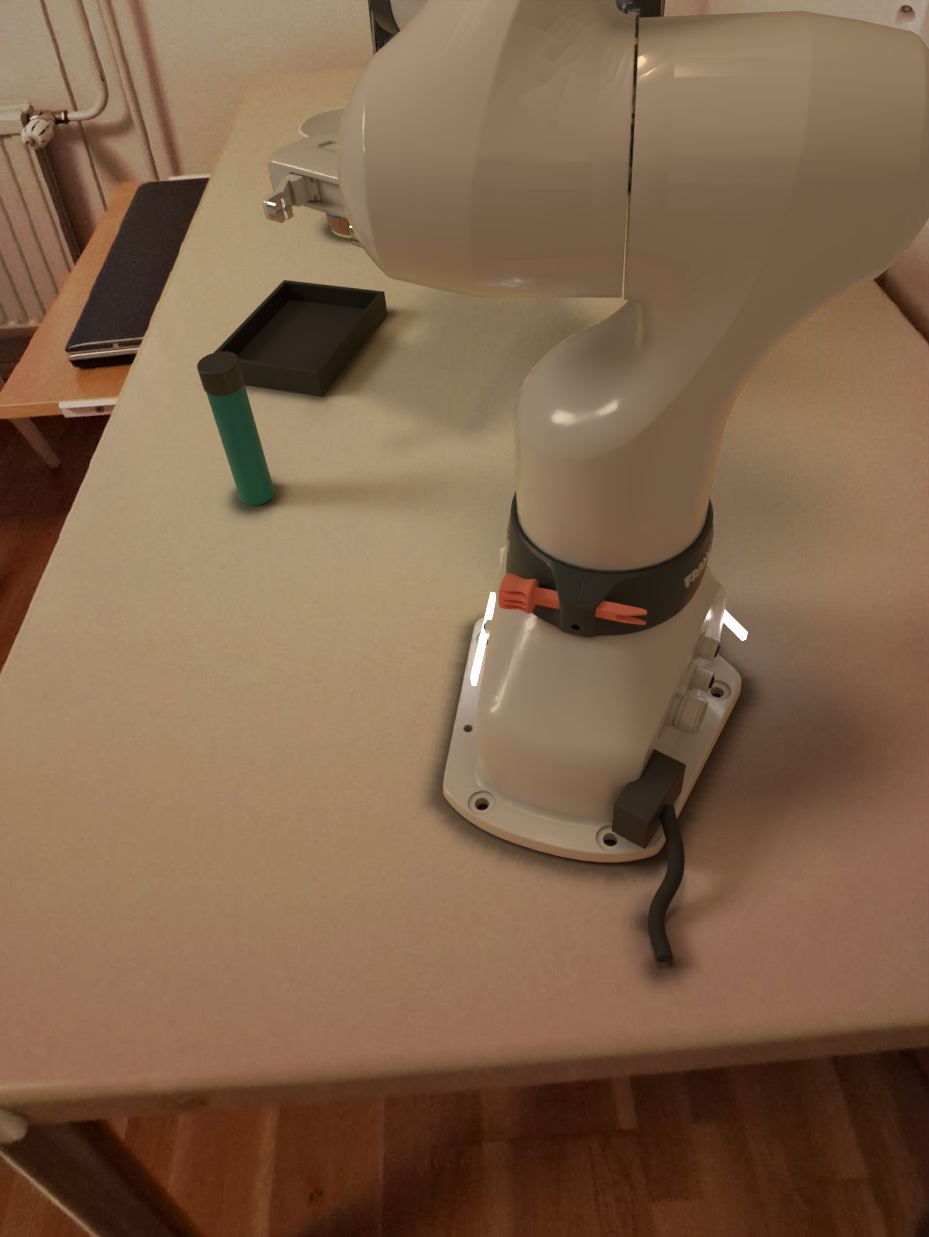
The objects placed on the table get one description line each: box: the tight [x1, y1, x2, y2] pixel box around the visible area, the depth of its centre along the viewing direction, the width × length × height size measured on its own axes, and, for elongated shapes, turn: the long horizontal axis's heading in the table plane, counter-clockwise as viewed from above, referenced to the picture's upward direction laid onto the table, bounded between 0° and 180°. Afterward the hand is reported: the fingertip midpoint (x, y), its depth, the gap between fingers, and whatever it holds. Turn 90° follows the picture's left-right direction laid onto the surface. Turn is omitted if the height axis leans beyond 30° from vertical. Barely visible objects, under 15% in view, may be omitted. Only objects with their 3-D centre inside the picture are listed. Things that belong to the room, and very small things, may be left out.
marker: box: [196, 351, 275, 507], centre depth 76 cm, size 3×3×13 cm
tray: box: [213, 279, 388, 397], centre depth 96 cm, size 16×12×3 cm
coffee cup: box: [298, 106, 352, 239], centre depth 111 cm, size 10×10×12 cm
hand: (312, 224), depth 74 cm, fingers open, 8 cm apart
